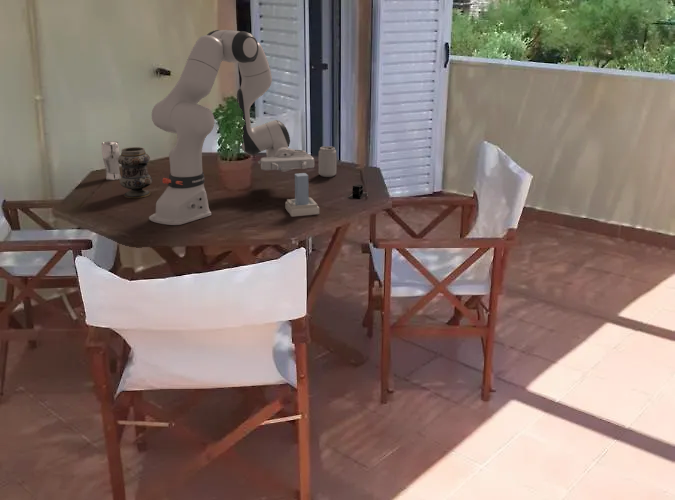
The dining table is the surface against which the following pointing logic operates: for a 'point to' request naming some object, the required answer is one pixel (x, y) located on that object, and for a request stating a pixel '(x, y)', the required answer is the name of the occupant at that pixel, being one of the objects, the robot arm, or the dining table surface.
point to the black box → (357, 192)
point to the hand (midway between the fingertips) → (291, 167)
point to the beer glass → (111, 159)
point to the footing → (301, 208)
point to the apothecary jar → (135, 171)
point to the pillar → (301, 189)
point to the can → (327, 161)
